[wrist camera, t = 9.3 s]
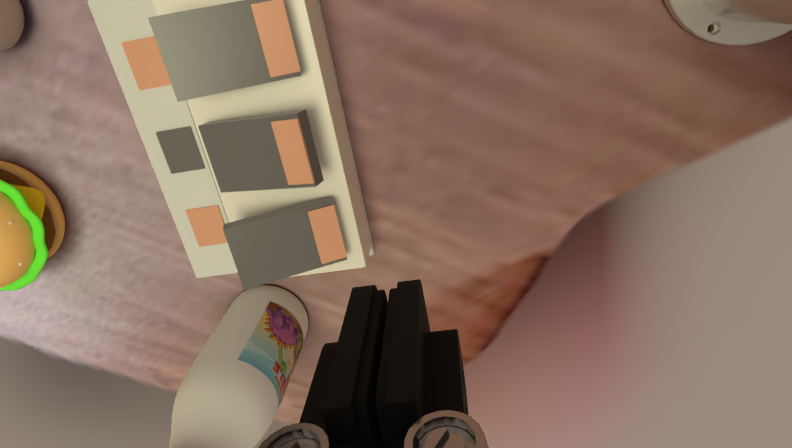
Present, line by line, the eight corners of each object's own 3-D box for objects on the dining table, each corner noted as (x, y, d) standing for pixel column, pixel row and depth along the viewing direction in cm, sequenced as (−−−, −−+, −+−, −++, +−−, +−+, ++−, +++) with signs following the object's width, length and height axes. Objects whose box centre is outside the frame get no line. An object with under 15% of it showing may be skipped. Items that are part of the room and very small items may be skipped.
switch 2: (330, 195, 37) (333, 201, 35) (344, 253, 39) (347, 260, 37) (223, 224, 35) (222, 230, 34) (244, 282, 37) (244, 290, 36)
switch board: (309, -46, 34) (289, -55, 30) (374, 250, 44) (367, 281, 39) (93, 1, 37) (41, 0, 32) (200, 273, 46) (173, 305, 41)
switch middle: (305, 109, 32) (295, 114, 31) (323, 180, 34) (314, 187, 33) (209, 121, 35) (196, 126, 33) (230, 186, 37) (219, 193, 35)
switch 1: (280, -5, 31) (281, -7, 30) (300, 74, 33) (301, 75, 32) (151, 18, 30) (147, 17, 29) (180, 99, 32) (177, 102, 30)
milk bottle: (238, 346, 49) (128, 544, 31) (227, 281, 46) (96, 459, 28) (313, 348, 49) (245, 551, 31) (306, 283, 46) (226, 465, 28)
